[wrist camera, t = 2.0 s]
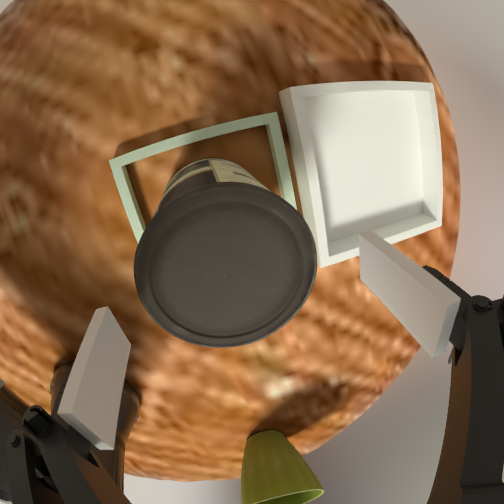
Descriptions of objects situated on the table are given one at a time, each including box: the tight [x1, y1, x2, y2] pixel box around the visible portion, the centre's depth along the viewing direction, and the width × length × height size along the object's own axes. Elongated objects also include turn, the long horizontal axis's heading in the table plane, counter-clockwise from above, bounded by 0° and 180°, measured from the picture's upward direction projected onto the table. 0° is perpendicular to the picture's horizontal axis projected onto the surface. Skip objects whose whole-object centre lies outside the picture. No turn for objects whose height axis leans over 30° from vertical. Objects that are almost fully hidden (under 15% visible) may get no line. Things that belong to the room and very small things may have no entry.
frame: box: [109, 112, 297, 243], centre depth 27 cm, size 16×16×2 cm
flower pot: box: [241, 430, 324, 504], centre depth 41 cm, size 15×15×16 cm
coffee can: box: [134, 158, 317, 348], centre depth 21 cm, size 10×10×14 cm
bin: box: [278, 81, 443, 268], centre depth 27 cm, size 18×18×4 cm
